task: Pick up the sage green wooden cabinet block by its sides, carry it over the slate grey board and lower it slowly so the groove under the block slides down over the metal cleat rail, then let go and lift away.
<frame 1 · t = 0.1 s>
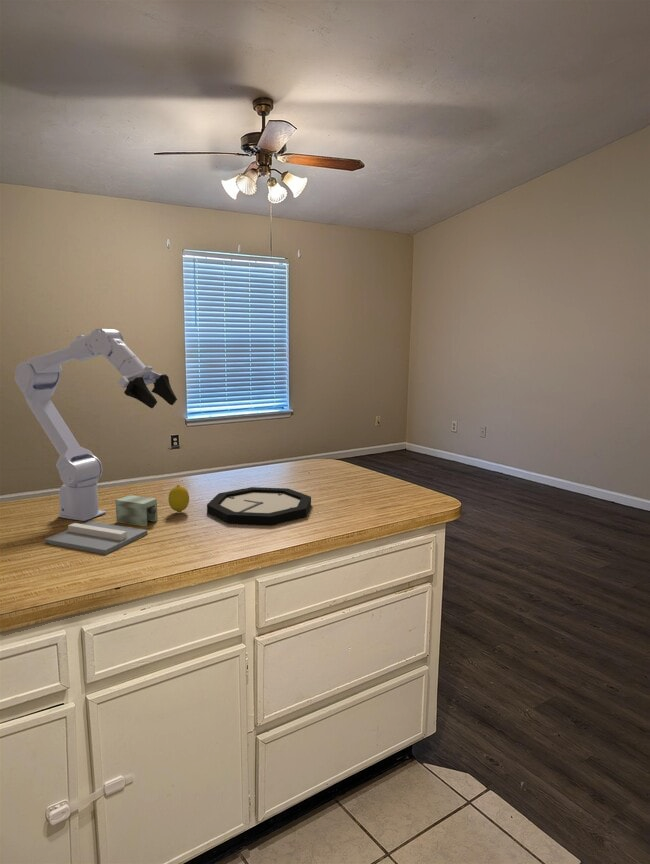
hand: (164, 403, 130), 32 cm above the counter, tool tilted 50°, fingers open, 7 cm apart
lemon: (179, 513, 148), on the counter
wall clock: (260, 511, 152), on the counter
cabinet block: (137, 521, 141), on the counter
cleat board: (97, 538, 128), on the counter
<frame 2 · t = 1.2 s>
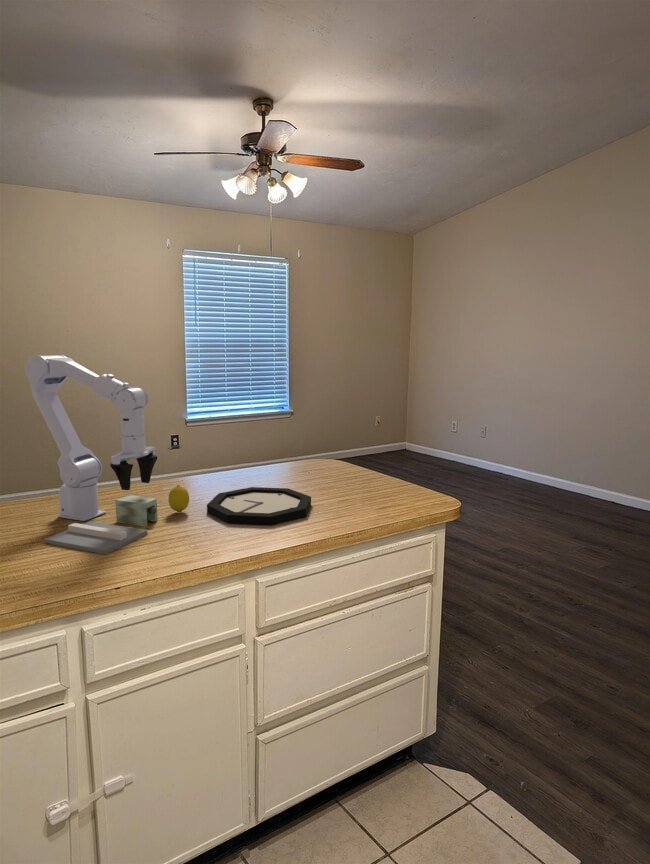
hand: (135, 486, 139), 9 cm above the counter, tool pointing down, fingers open, 7 cm apart
nothing on the counter moved.
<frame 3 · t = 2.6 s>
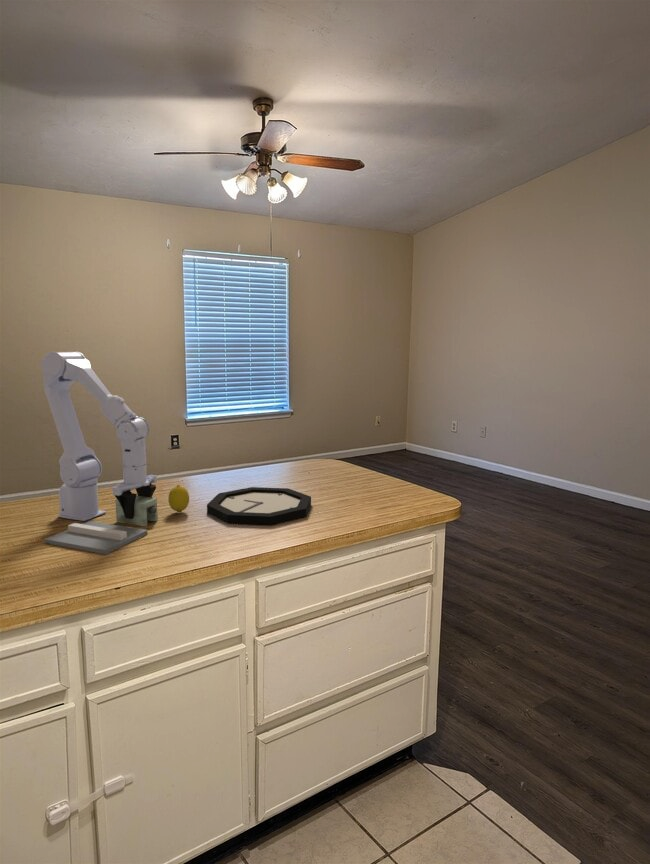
hand: (136, 515, 140), 2 cm above the counter, tool pointing down, fingers closed on cabinet block, 5 cm apart
cabinet block: (137, 520, 141), on the counter, touching gripper
everything else where it was.
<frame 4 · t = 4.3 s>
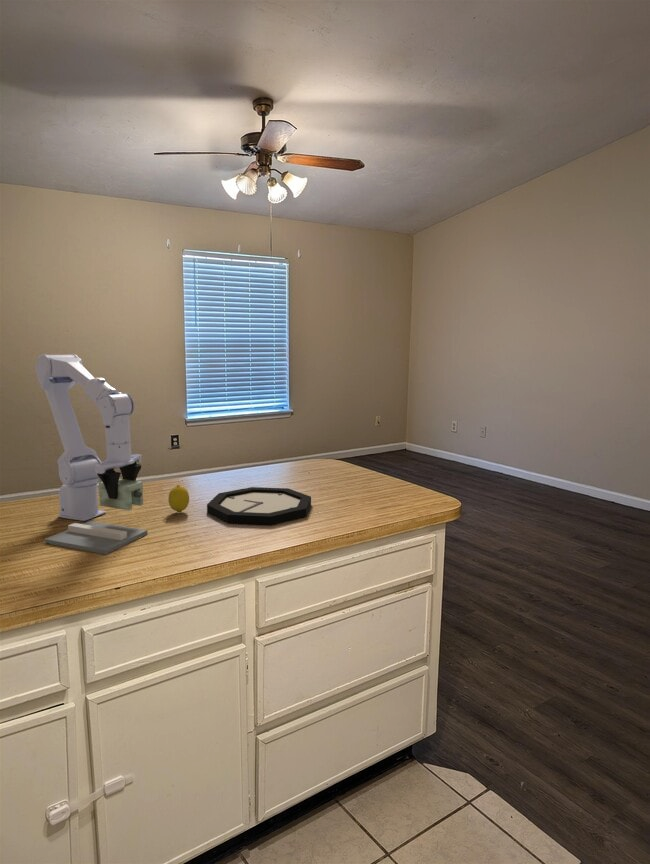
hand: (121, 495, 134), 8 cm above the counter, tool pointing down, fingers closed on cabinet block, 5 cm apart
cabinet block: (121, 505, 135), point 6 cm above the counter, touching gripper
everything else where it was.
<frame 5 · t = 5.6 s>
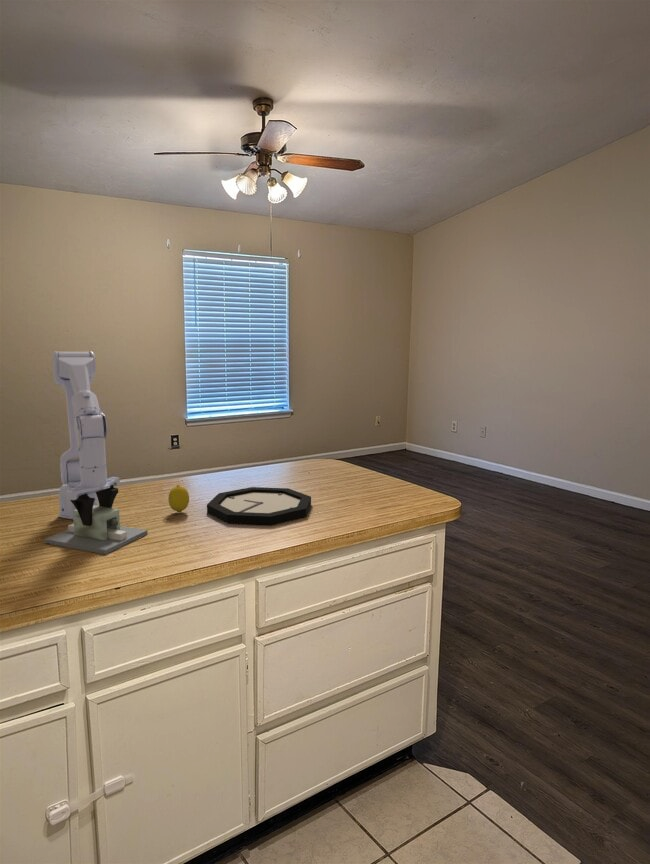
hand: (96, 521, 127), 4 cm above the counter, tool pointing down, fingers closed on cabinet block, 5 cm apart
cabinet block: (97, 534, 127), point 1 cm above the counter, touching gripper
everything else where it was.
when the fingers open (3 cm above the counter, at t = 6.3 s): cabinet block stays where it is, resting on cleat board.
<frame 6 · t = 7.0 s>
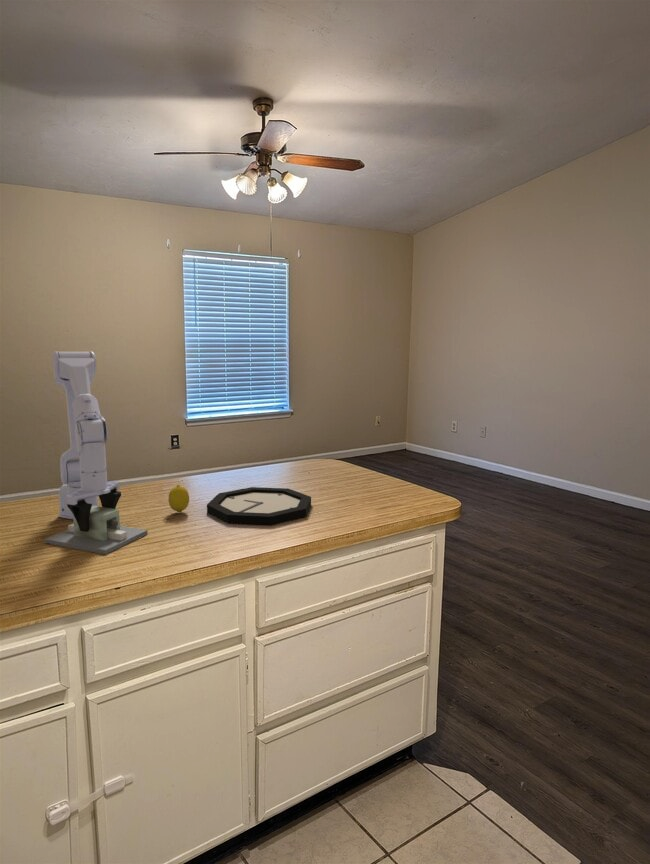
hand: (96, 525, 127), 3 cm above the counter, tool pointing down, fingers open, 7 cm apart
cabinet block: (97, 534, 127), point 1 cm above the counter, touching cleat board
everything else where it was.
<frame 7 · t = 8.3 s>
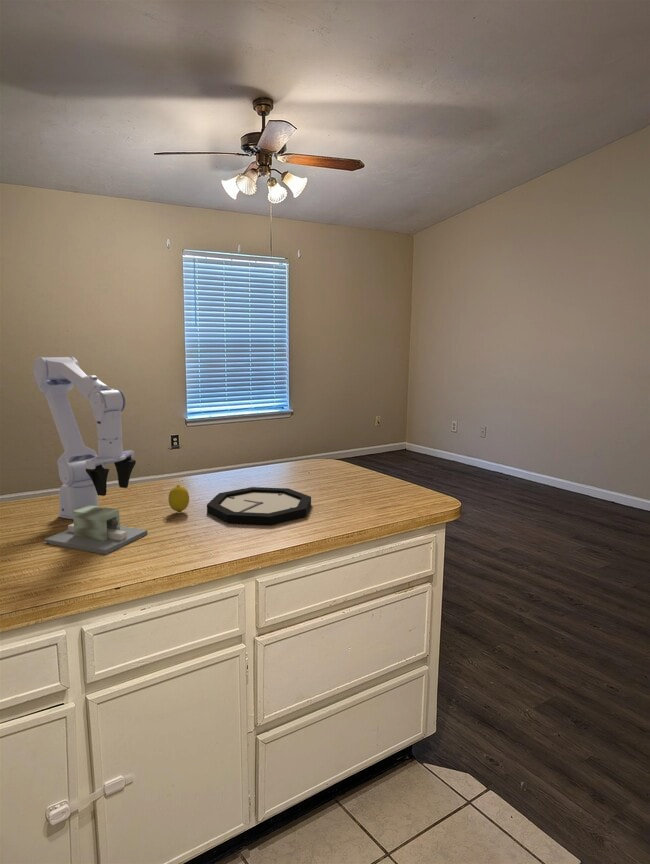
hand: (112, 491, 134), 9 cm above the counter, tool pointing down, fingers open, 7 cm apart
nothing on the counter moved.
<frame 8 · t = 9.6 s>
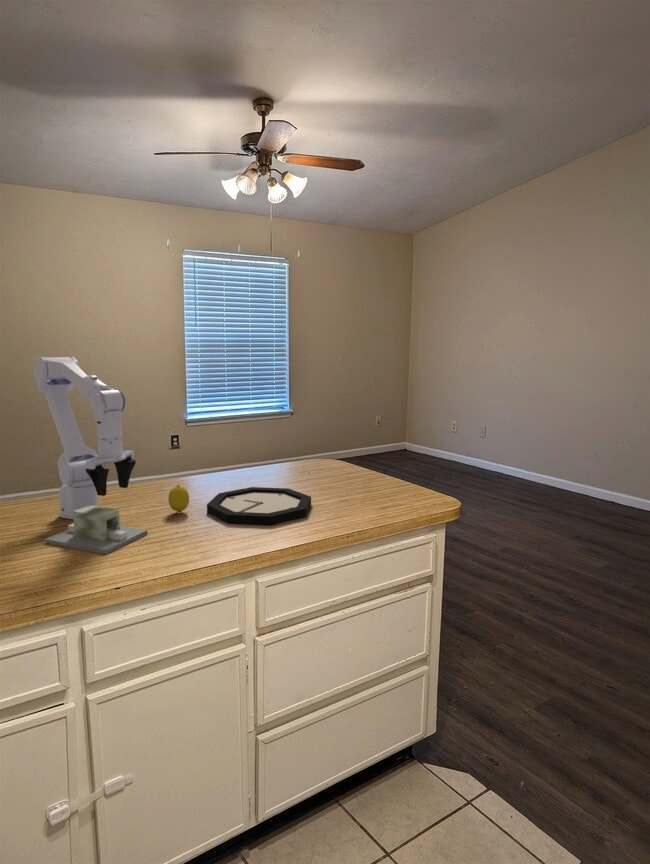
hand: (112, 491, 134), 9 cm above the counter, tool pointing down, fingers open, 7 cm apart
nothing on the counter moved.
at the end: cabinet block 0.0 cm off-centre on the cleat board, point 1.0 cm above the cleat board's base; cabinet block tilted 0°; the gripper is holding nothing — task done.
